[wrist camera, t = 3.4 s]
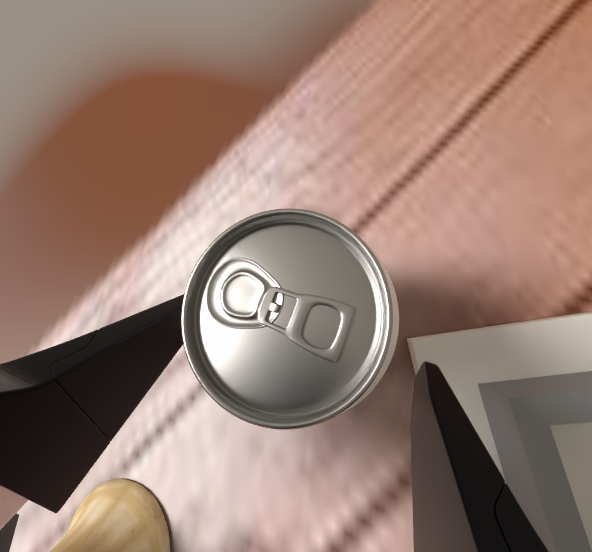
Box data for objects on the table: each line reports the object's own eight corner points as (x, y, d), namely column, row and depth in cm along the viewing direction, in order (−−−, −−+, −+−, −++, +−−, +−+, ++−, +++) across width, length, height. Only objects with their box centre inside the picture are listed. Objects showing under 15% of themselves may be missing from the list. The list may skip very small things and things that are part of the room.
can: (299, 263, 19) (220, 170, 8) (386, 292, 18) (449, 229, 6) (267, 346, 19) (130, 379, 7) (354, 384, 17) (359, 508, 6)
